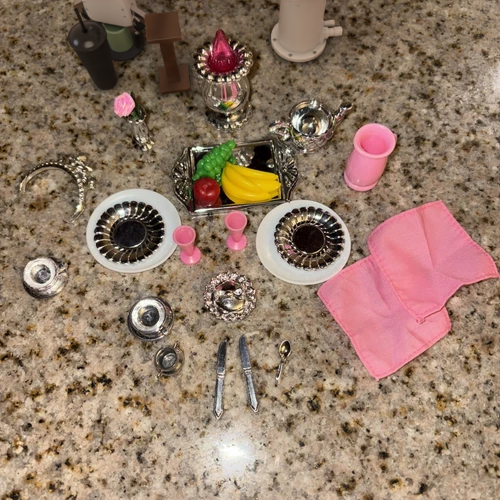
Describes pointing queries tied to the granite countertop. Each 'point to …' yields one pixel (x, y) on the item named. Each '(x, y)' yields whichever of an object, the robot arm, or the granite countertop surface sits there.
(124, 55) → the coaster
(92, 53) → the drinking cup
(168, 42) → the stand
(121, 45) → the sage cup
